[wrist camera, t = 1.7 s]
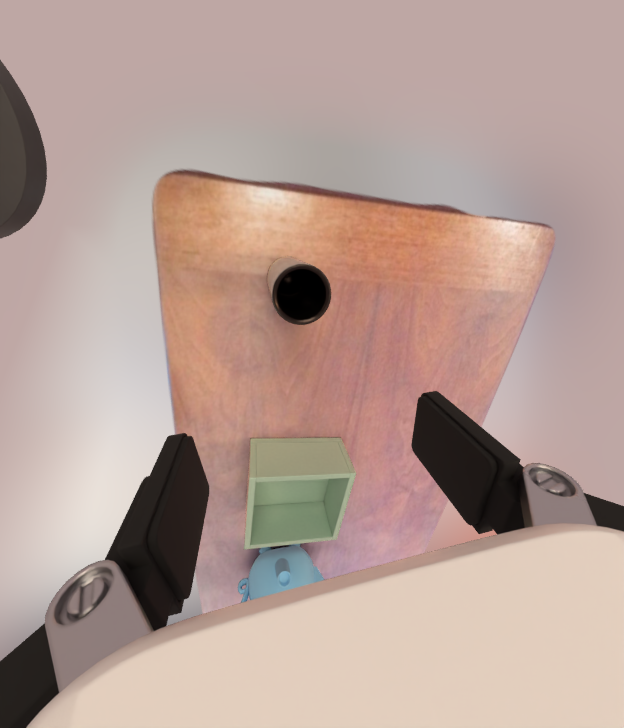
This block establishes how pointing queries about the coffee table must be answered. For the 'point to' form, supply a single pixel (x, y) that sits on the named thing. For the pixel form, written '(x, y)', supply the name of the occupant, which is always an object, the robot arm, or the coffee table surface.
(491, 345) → the coffee table surface
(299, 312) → the grey hollow cylinder
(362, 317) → the coffee table surface
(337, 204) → the coffee table surface
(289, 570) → the teapot
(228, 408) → the coffee table surface
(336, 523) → the green open box
